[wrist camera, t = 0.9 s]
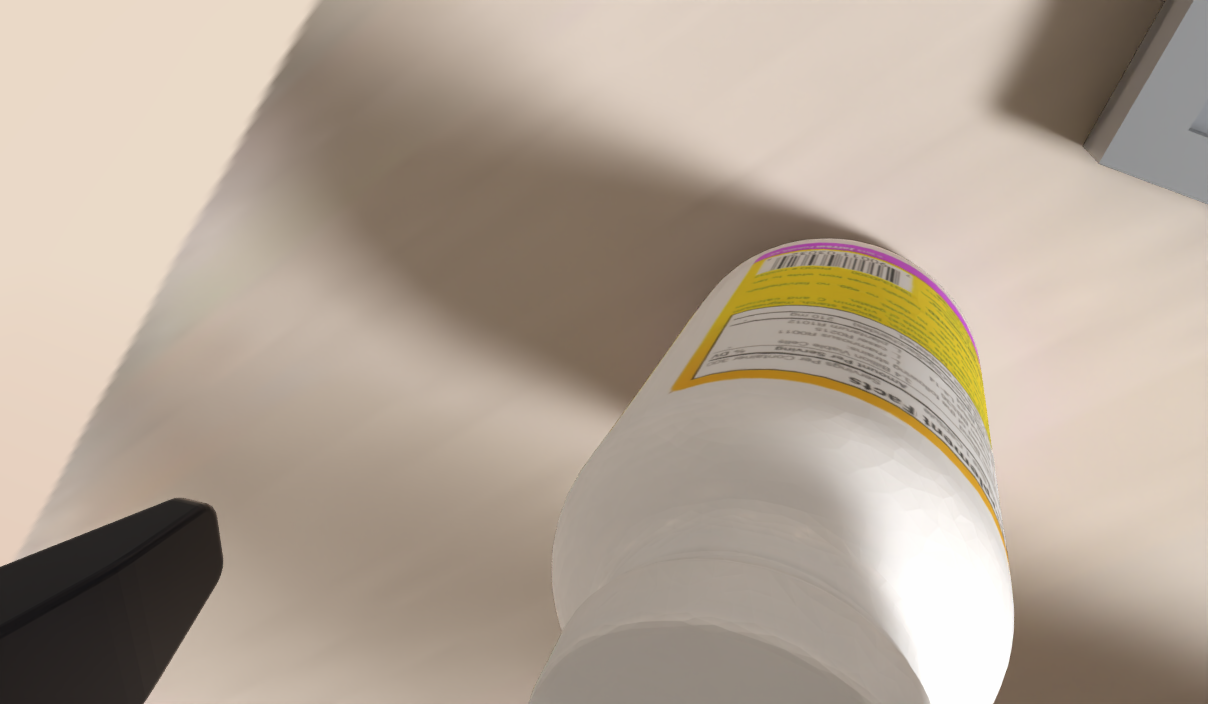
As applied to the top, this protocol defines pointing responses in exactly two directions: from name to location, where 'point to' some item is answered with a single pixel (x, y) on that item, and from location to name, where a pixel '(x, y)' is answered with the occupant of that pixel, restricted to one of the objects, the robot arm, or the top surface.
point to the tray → (1162, 106)
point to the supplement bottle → (793, 504)
